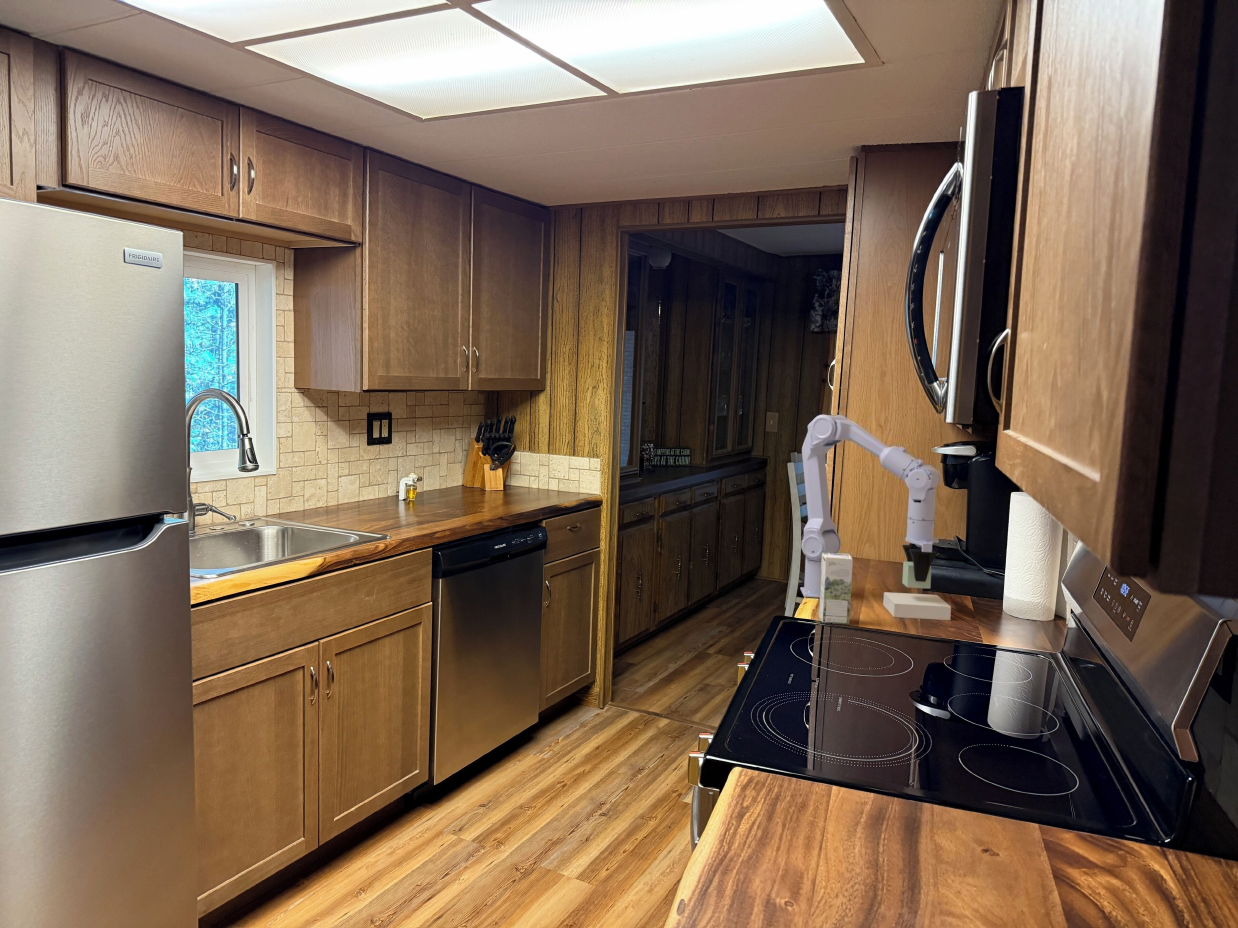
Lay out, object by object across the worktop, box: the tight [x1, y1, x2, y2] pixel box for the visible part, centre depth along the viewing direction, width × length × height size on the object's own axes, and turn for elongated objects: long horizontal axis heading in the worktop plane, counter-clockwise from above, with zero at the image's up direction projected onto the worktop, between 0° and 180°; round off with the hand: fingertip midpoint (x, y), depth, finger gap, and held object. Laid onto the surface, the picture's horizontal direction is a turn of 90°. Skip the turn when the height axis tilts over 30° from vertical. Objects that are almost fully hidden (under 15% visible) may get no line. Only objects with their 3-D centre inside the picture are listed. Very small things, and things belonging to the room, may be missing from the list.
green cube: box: [901, 561, 932, 589], centre depth 193 cm, size 5×5×5 cm
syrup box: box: [818, 552, 854, 625], centre depth 182 cm, size 6×6×14 cm
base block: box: [882, 591, 952, 621], centre depth 193 cm, size 12×12×3 cm
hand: (917, 578), depth 193 cm, fingers closed on green cube, 5 cm apart
